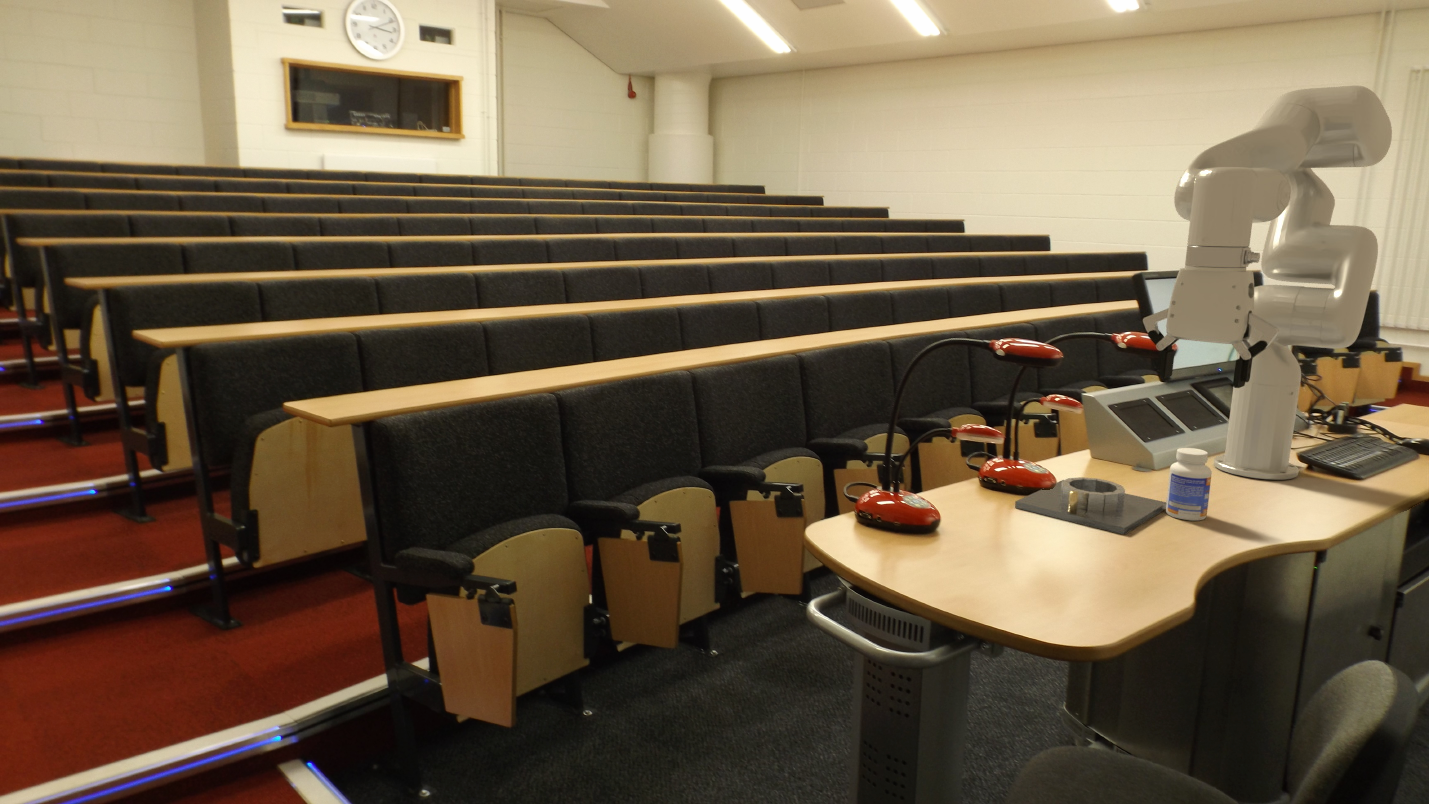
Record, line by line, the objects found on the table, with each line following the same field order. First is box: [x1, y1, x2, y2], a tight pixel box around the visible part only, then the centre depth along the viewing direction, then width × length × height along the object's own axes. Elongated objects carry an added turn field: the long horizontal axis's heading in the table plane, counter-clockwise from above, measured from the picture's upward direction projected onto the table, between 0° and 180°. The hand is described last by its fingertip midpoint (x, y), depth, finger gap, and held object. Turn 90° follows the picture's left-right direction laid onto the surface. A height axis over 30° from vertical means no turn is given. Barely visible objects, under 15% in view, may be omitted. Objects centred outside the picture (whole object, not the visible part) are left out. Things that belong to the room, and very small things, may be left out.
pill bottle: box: [1165, 447, 1213, 522], centre depth 133 cm, size 5×5×10 cm
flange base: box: [1014, 476, 1167, 536], centre depth 136 cm, size 16×16×4 cm
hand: (1201, 381), depth 129 cm, fingers open, 9 cm apart
